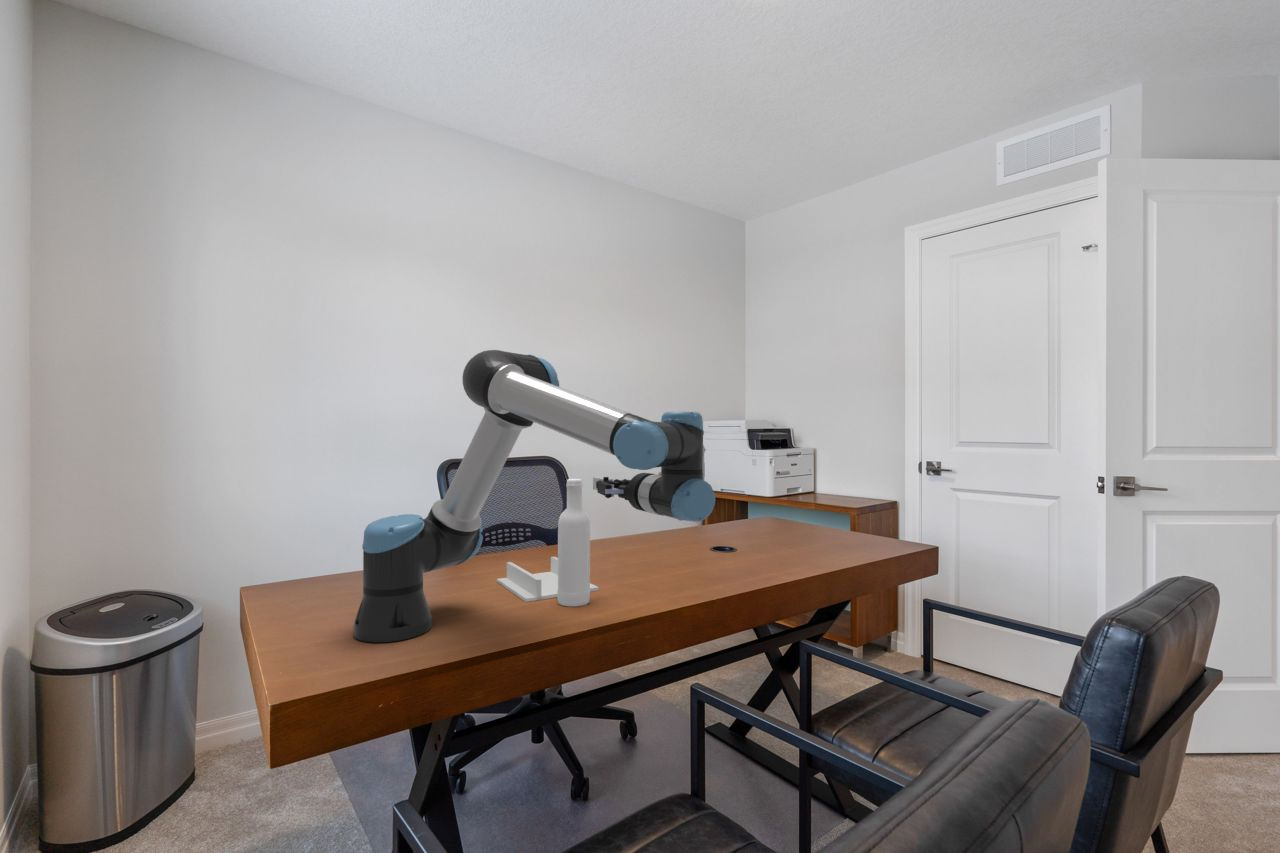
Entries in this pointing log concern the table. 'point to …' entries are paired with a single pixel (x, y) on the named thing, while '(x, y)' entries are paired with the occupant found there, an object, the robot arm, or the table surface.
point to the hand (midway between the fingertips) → (596, 483)
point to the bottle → (574, 549)
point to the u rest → (533, 582)
